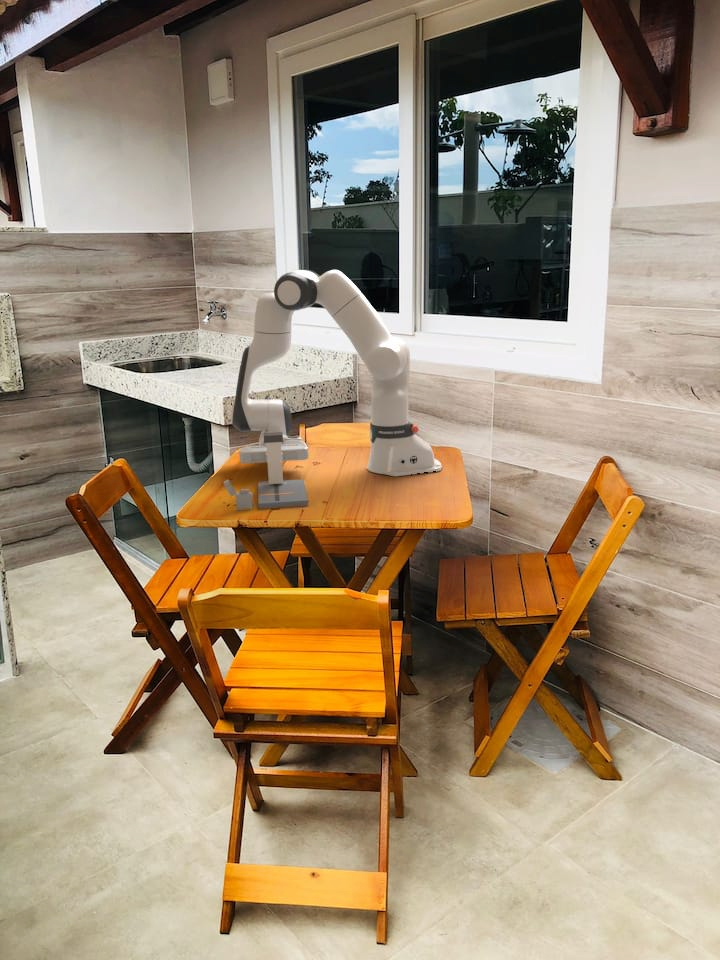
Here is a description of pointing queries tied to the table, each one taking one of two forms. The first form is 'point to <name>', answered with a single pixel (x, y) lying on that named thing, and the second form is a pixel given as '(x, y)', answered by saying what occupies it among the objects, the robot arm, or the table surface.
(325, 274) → the robot arm
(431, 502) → the table surface
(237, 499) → the lighter
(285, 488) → the console
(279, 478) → the grey post
